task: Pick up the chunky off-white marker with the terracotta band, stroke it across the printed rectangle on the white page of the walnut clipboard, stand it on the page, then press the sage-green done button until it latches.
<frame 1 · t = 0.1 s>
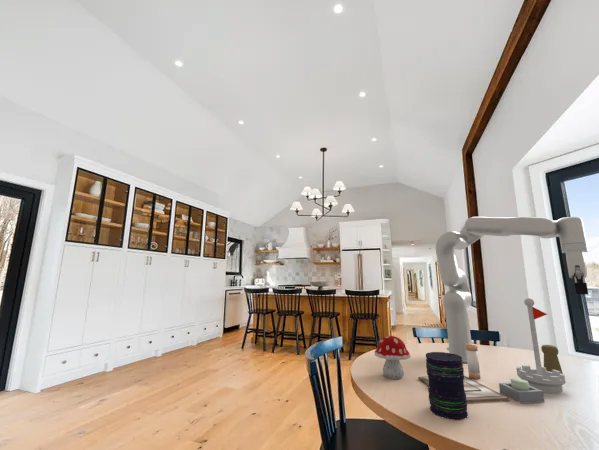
hand: (582, 293, 110), 31 cm above the table, tool pointing down, fingers open, 9 cm apart
flag stand: (541, 388, 101), on the table
decorative mushroom: (393, 377, 113), on the table
navy striped cylinder: (448, 412, 83), on the table
done button: (520, 386, 93), point 3 cm above the table, slide at 0.0 cm
cork: (553, 375, 113), on the table
button housing: (521, 397, 93), on the table
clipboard: (459, 388, 100), on the table
marker: (474, 377, 111), on the table
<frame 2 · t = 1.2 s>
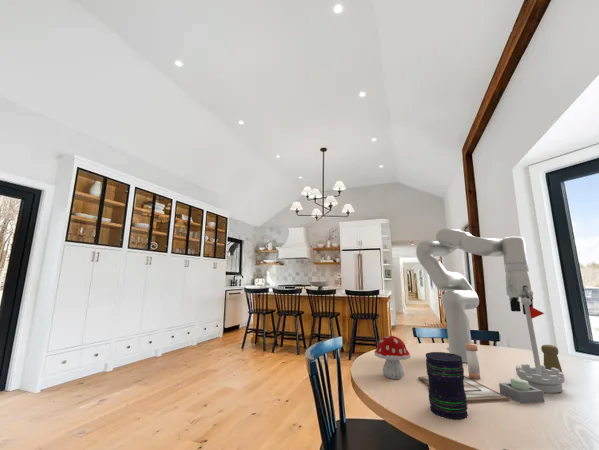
hand: (522, 312, 112), 24 cm above the table, tool pointing down, fingers open, 9 cm apart
flag stand: (541, 386, 101), on the table, touching gripper
everything else where it was.
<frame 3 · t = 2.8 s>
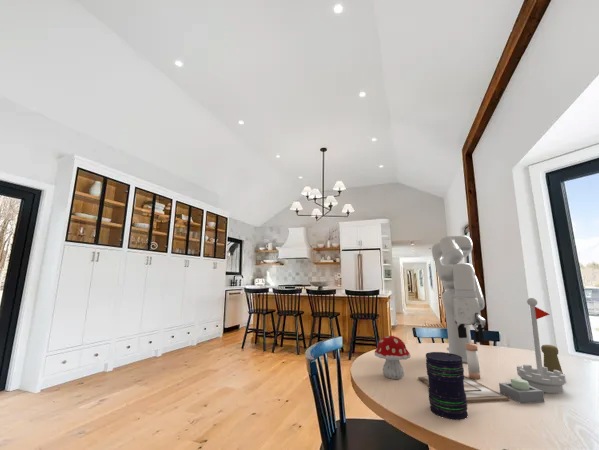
hand: (470, 339, 113), 14 cm above the table, tool pointing down, fingers open, 9 cm apart
flag stand: (541, 387, 101), on the table
everything else where it was.
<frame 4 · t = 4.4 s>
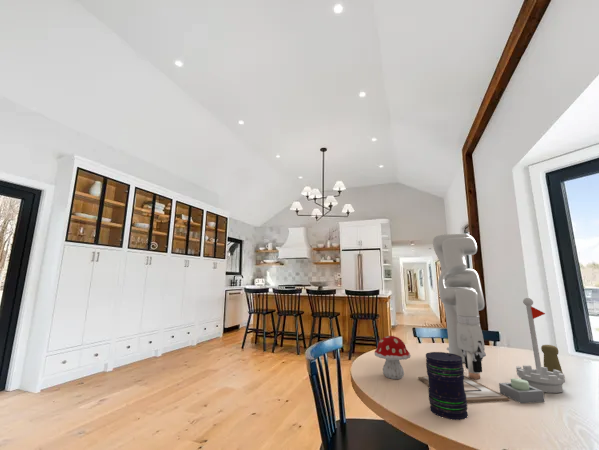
hand: (473, 369, 111), 3 cm above the table, tool pointing down, fingers closed on marker, 3 cm apart
marker: (474, 377, 111), on the table, touching gripper
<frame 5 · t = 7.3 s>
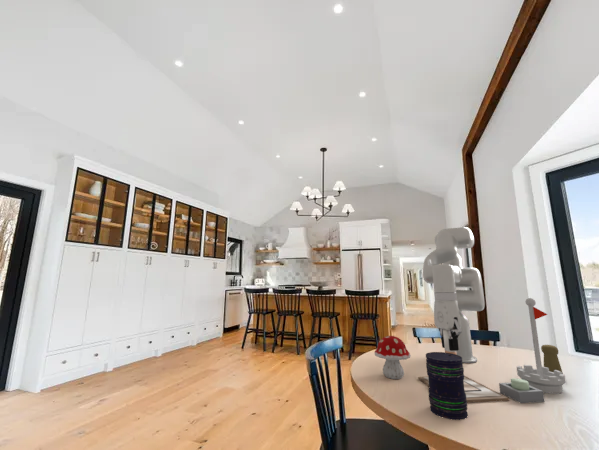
hand: (450, 348, 106), 12 cm above the table, tool pointing down, fingers closed on marker, 3 cm apart
marker: (451, 356, 106), point 9 cm above the table, touching gripper
everything else where it was.
when the fingers open (4 cm above the table, at t = 10.1 s): marker stays where it is, resting on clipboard.
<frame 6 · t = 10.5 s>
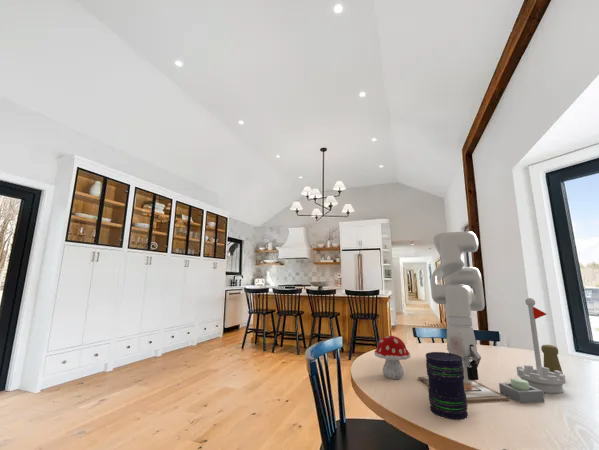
hand: (465, 375, 98), 5 cm above the table, tool pointing down, fingers open, 7 cm apart
marker: (466, 387, 98), point 1 cm above the table, touching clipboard
everything else where it was.
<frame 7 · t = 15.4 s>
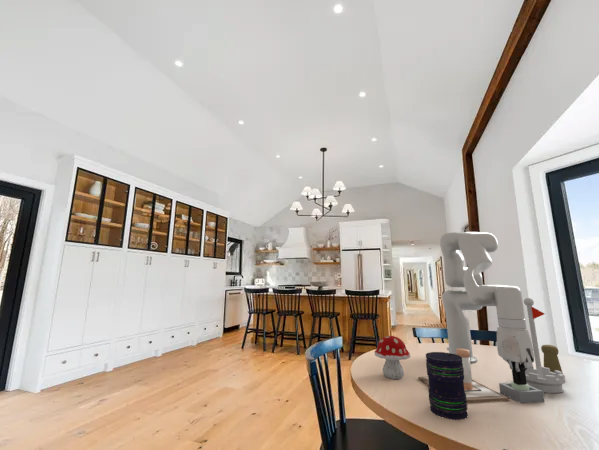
hand: (520, 383, 93), 4 cm above the table, tool pointing down, fingers closed
done button: (520, 389, 93), point 2 cm above the table, slide at 0.8 cm
everything else where it was.
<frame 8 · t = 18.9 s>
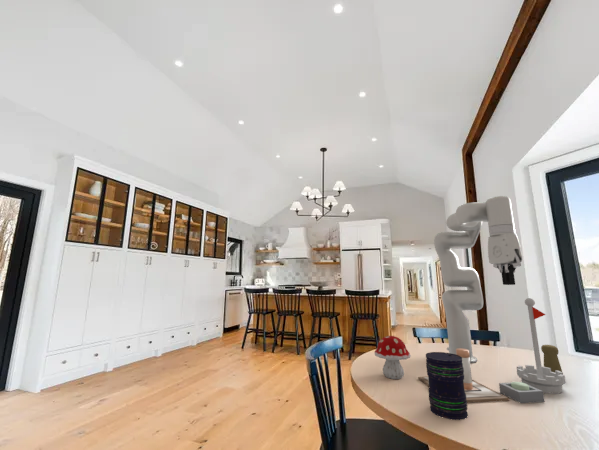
hand: (509, 284, 99), 35 cm above the table, tool pointing down, fingers closed
nothing on the table moved.
at the end: done button slide at 1.0 cm; marker inside the target area (2.4 cm from its centre), point 1.2 cm above the table; the gripper is holding nothing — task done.
